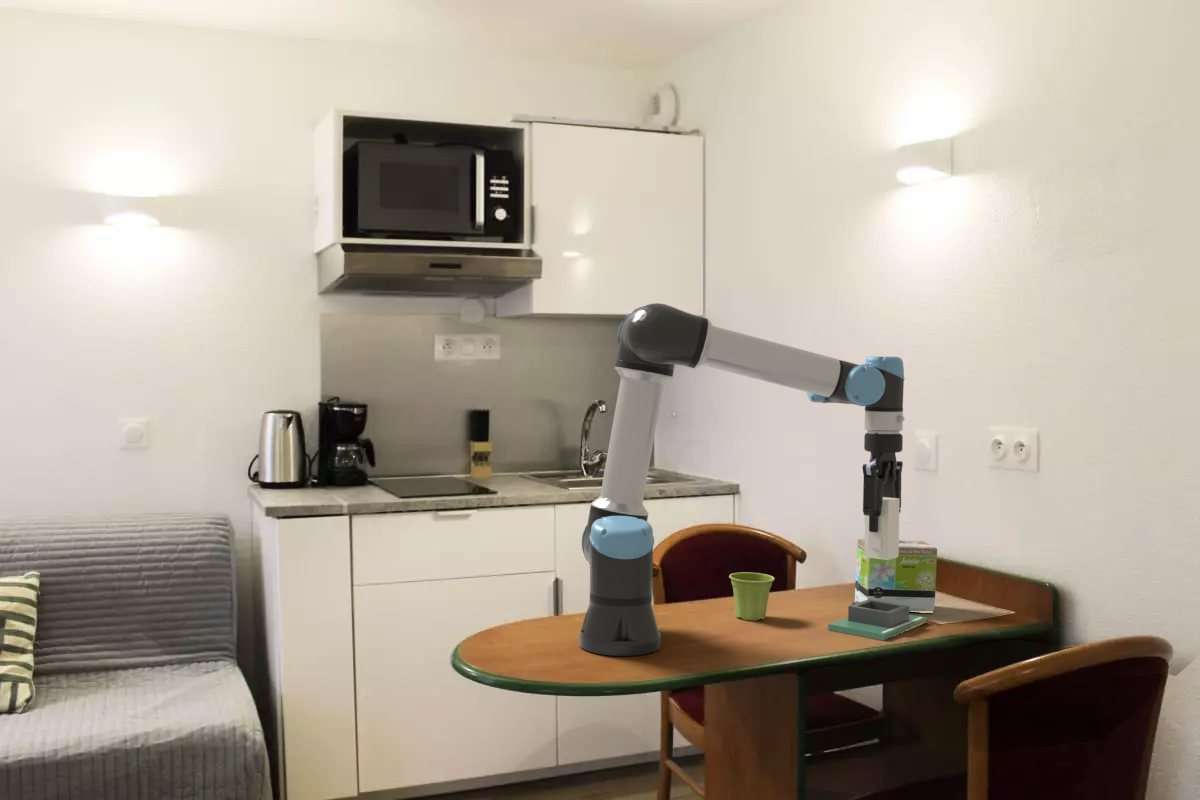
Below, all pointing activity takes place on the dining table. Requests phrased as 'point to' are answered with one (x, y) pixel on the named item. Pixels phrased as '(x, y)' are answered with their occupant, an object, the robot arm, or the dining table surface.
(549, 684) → the dining table surface
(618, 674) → the dining table surface
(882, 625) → the board
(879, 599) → the tea box
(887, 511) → the plug
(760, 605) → the plant pot
